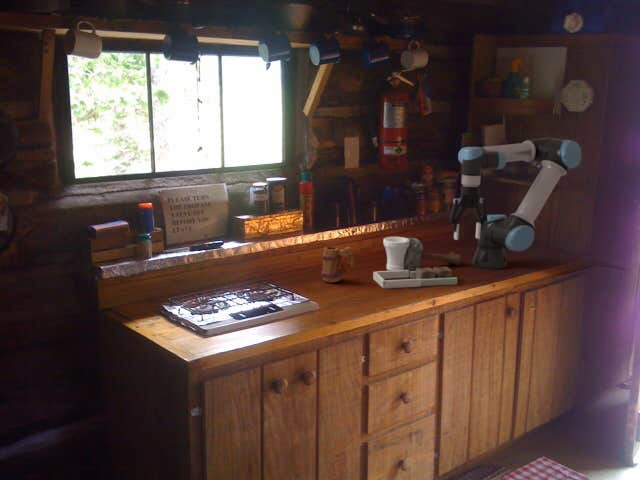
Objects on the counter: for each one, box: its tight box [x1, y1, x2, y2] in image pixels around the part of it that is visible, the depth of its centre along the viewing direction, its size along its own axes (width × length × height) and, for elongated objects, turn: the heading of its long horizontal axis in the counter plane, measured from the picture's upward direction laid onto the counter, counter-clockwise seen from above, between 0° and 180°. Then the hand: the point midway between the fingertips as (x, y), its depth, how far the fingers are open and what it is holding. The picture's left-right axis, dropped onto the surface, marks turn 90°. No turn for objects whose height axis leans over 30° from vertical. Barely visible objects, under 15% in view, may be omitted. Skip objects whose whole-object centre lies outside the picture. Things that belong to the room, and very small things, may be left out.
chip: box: [432, 266, 453, 278], centre depth 291 cm, size 6×6×5 cm
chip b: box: [415, 267, 435, 279], centre depth 290 cm, size 6×6×5 cm
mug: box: [320, 245, 356, 283], centre depth 285 cm, size 15×8×15 cm, turn 70°
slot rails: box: [409, 270, 458, 287], centre depth 291 cm, size 16×13×2 cm
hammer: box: [404, 237, 462, 272], centre depth 309 cm, size 15×10×30 cm
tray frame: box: [372, 270, 421, 289], centre depth 287 cm, size 16×14×3 cm
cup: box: [383, 236, 410, 271], centre depth 302 cm, size 11×11×14 cm
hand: (466, 238), depth 290 cm, fingers open, 9 cm apart
